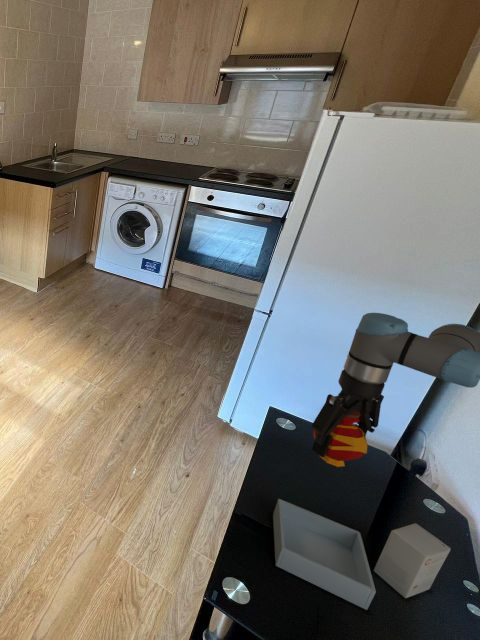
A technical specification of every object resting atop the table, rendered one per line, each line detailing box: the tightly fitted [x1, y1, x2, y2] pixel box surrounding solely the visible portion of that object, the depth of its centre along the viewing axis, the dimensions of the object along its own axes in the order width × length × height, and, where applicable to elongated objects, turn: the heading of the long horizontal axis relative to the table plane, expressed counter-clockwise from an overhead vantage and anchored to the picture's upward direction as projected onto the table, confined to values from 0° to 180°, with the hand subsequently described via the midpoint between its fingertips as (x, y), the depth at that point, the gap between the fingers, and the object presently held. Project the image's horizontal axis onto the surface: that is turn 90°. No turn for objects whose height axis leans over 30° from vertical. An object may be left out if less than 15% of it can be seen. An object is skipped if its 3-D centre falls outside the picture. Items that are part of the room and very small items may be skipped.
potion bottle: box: [313, 406, 368, 468], centre depth 101 cm, size 10×10×15 cm
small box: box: [373, 522, 451, 599], centre depth 92 cm, size 8×6×13 cm
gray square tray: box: [272, 498, 377, 611], centre depth 97 cm, size 16×16×6 cm
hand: (335, 450), depth 103 cm, fingers closed on potion bottle, 10 cm apart
